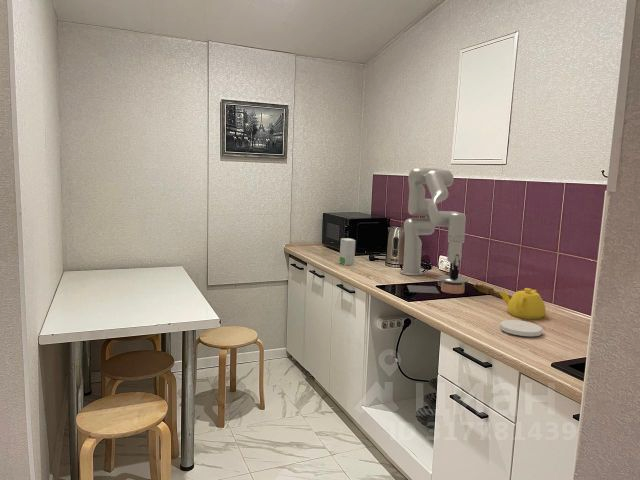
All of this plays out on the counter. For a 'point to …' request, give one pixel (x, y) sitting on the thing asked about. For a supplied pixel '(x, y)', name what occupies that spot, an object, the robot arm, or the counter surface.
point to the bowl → (452, 287)
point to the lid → (453, 279)
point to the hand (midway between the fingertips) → (453, 276)
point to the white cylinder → (347, 251)
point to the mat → (422, 289)
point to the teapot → (525, 304)
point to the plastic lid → (521, 328)
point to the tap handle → (488, 290)
